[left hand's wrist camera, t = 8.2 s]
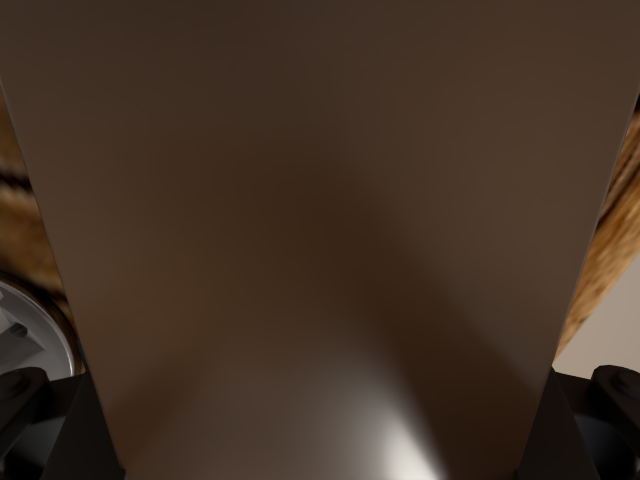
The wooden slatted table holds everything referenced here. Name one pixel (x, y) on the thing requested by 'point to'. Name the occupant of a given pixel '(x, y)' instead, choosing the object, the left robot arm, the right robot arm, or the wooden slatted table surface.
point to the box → (320, 219)
